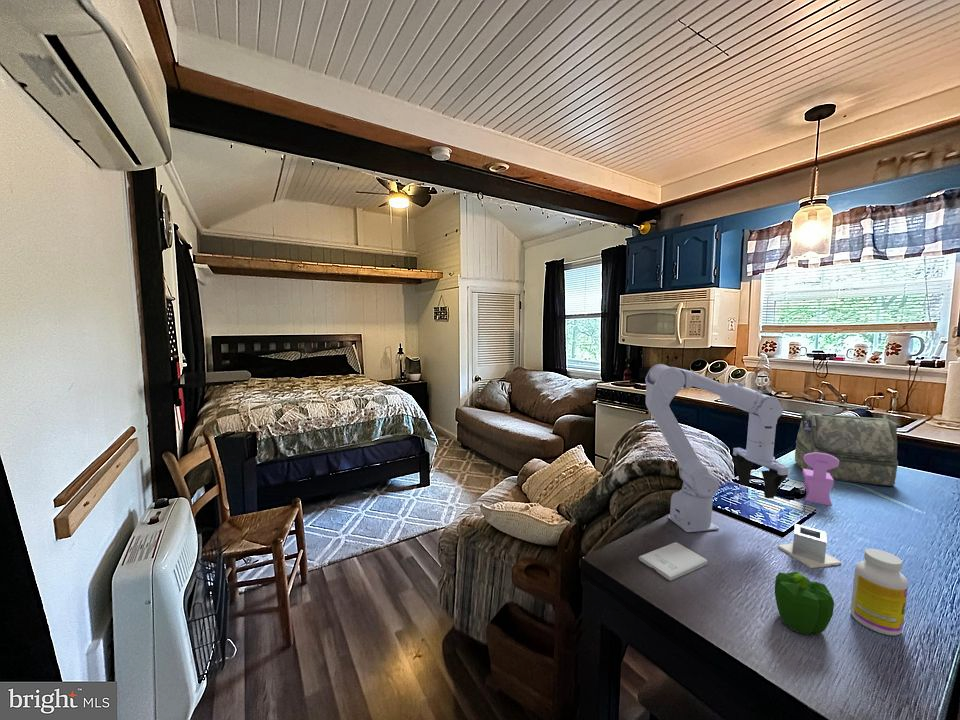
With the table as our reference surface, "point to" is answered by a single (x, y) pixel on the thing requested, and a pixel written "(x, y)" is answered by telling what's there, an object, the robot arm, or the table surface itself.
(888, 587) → the supplement bottle
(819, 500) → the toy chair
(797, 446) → the lunch bag
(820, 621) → the bell pepper
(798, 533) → the white storage bin
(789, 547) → the peg base
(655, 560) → the external hard drive
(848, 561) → the table surface
